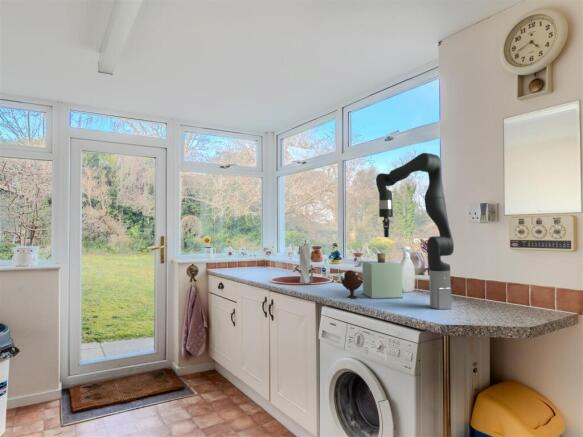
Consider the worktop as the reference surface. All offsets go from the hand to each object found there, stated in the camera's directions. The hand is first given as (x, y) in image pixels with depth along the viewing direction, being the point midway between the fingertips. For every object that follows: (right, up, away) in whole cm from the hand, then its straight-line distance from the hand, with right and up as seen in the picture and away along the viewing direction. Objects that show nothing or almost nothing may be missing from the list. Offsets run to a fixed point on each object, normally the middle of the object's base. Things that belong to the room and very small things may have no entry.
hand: (386, 237), depth 217 cm
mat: (-4, -32, -4) cm, 33 cm away
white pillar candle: (-44, -35, +52) cm, 76 cm away
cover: (-4, -32, -4) cm, 32 cm away
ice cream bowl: (-21, -33, -10) cm, 40 cm away
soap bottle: (+14, -33, +10) cm, 37 cm away
